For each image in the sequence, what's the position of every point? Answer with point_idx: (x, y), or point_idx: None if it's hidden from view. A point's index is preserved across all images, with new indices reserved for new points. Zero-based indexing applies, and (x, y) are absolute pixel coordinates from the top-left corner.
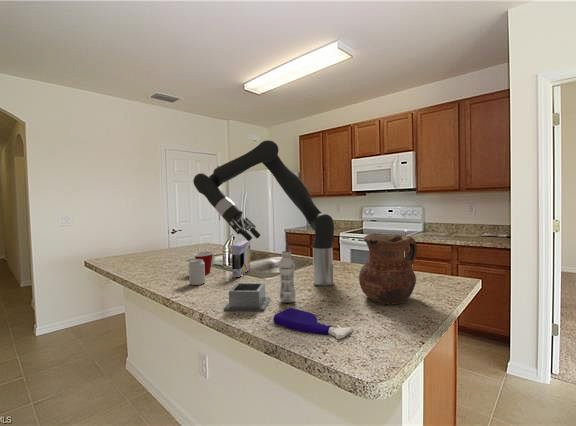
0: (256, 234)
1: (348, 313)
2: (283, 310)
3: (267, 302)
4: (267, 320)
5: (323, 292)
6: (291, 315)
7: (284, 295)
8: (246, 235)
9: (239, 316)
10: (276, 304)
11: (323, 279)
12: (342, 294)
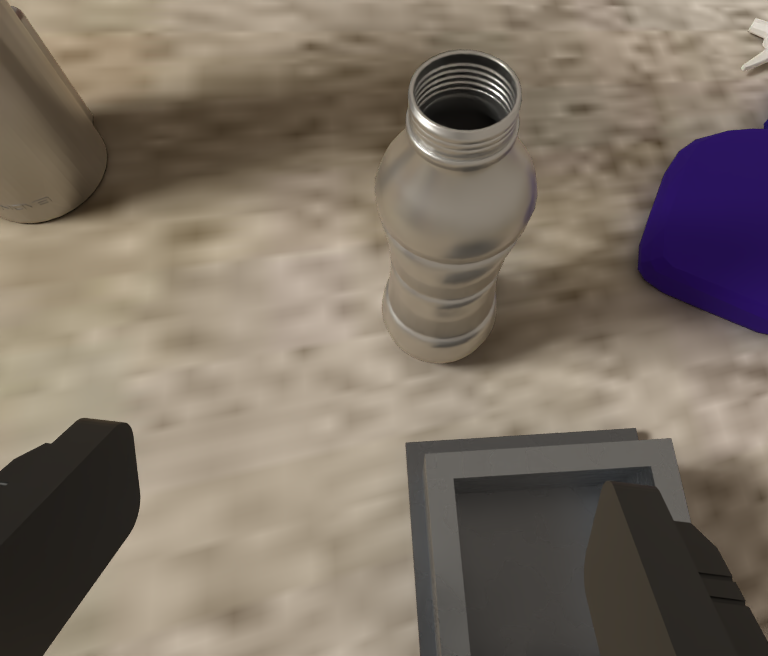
0: (89, 516)
1: (557, 42)
2: (712, 282)
3: (508, 436)
4: (755, 377)
5: (243, 156)
6: (763, 232)
7: (495, 310)
8: (743, 625)
9: (754, 570)
10: (492, 384)
11: (87, 136)
12: (280, 69)
